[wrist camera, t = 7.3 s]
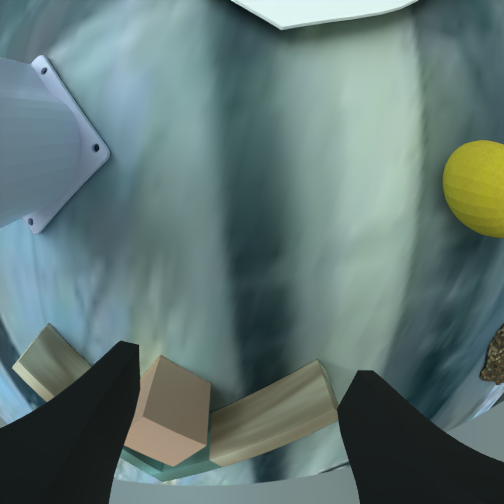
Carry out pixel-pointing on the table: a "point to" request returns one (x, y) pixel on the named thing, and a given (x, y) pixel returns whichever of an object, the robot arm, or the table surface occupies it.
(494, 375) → the bread roll
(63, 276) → the table surface
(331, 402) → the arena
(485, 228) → the lemon
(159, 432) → the block
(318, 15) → the plate
